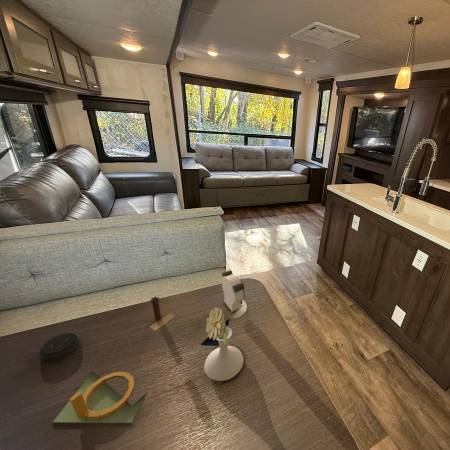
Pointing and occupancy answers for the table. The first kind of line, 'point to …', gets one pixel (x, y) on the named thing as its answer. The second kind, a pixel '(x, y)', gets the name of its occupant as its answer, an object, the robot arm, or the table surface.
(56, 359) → the smart speaker
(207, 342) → the cell phone
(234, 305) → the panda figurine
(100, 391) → the olive green flat piece
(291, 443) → the table surface
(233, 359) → the flower in vase
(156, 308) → the stand
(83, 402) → the orange ring with tab
